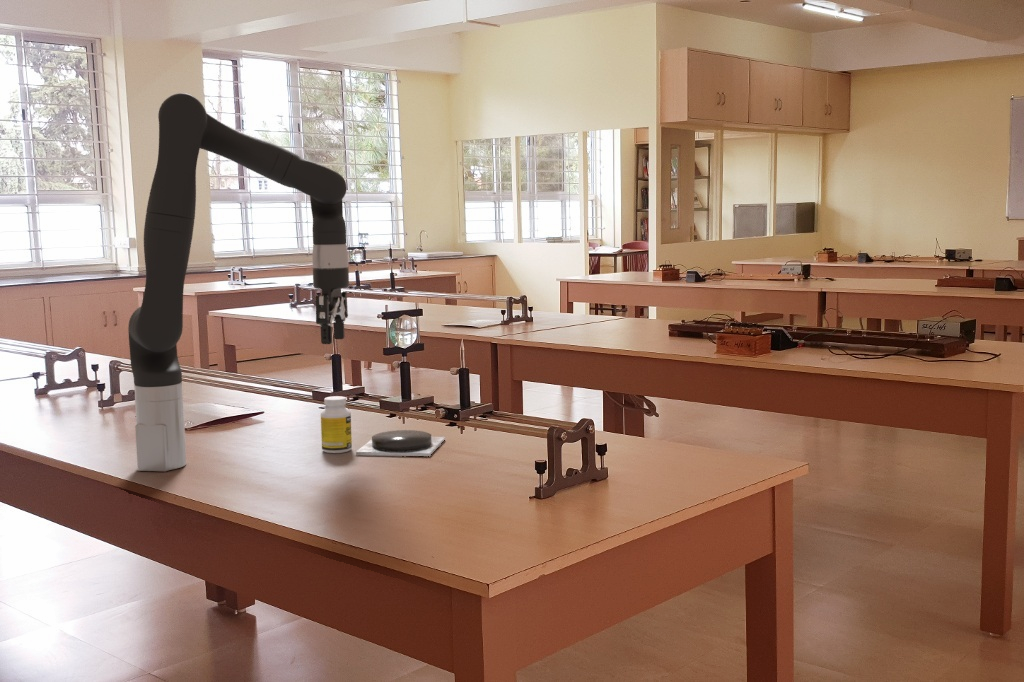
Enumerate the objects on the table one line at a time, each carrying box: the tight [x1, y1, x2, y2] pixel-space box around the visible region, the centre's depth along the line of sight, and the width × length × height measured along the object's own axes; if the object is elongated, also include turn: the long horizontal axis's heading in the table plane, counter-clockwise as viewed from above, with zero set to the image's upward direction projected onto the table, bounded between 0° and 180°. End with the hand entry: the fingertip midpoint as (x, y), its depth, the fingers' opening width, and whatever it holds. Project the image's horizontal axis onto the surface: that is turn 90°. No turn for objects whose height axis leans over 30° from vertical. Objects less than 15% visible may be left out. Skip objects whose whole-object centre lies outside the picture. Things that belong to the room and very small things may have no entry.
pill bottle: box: [320, 395, 353, 454], centre depth 216 cm, size 6×6×12 cm
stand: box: [355, 429, 446, 458], centre depth 219 cm, size 16×16×2 cm
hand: (333, 341), depth 214 cm, fingers open, 8 cm apart
